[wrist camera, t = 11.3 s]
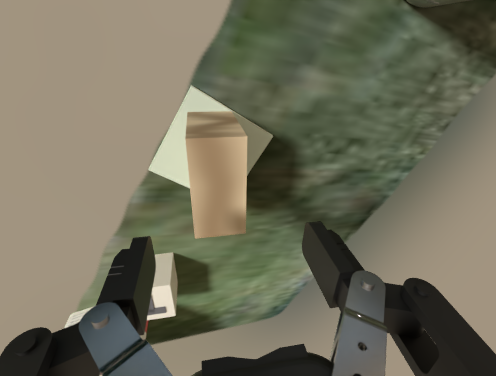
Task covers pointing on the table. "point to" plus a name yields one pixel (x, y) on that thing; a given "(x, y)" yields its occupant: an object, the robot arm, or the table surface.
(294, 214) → the table surface
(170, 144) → the sage mat
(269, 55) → the table surface
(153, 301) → the marked cube
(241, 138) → the birch block
